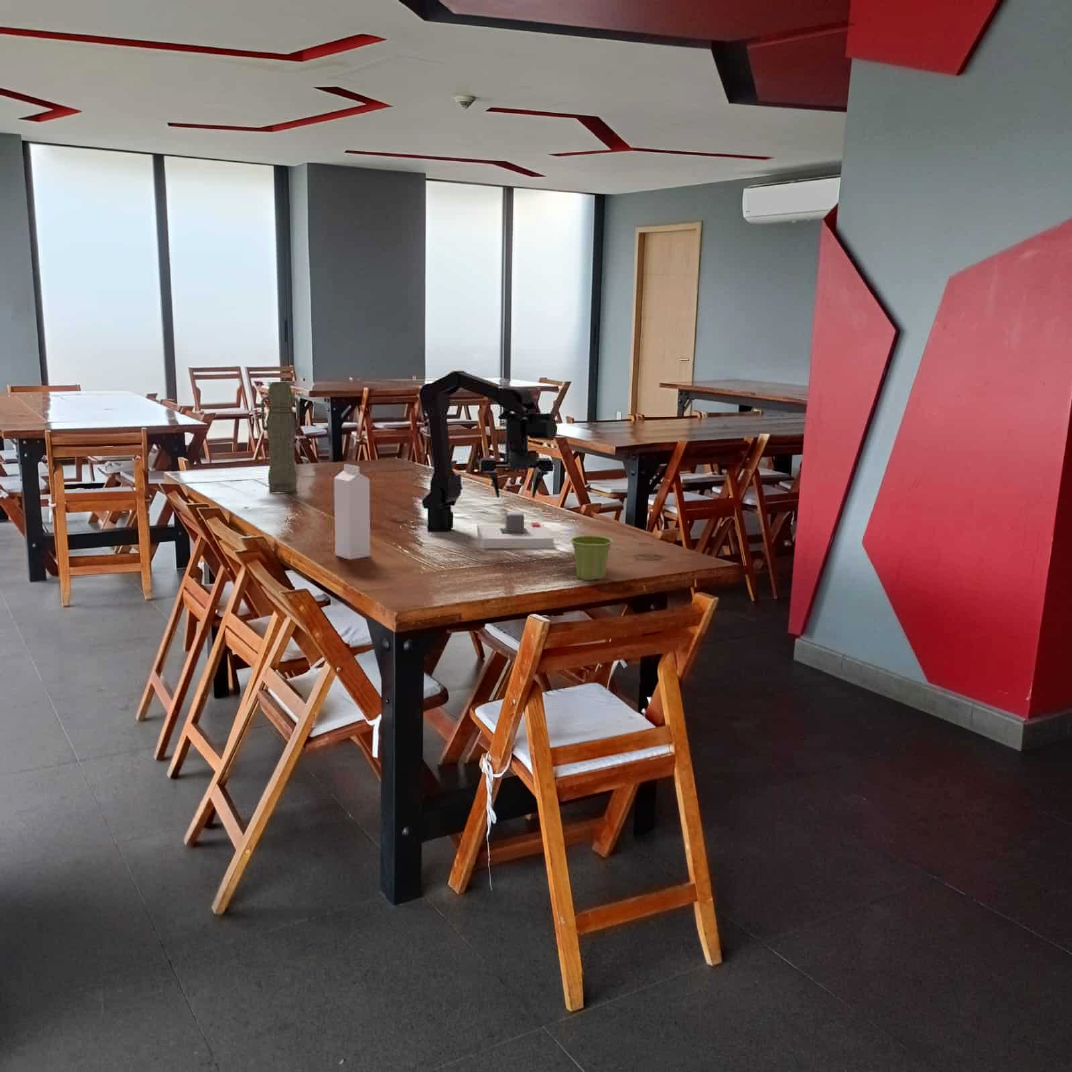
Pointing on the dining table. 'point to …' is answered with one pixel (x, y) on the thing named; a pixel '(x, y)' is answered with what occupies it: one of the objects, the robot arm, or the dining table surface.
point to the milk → (352, 513)
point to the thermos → (281, 436)
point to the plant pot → (591, 556)
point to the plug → (514, 523)
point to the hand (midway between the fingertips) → (515, 497)
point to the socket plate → (514, 536)
